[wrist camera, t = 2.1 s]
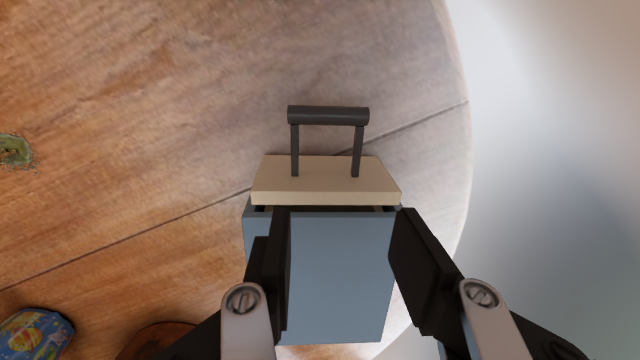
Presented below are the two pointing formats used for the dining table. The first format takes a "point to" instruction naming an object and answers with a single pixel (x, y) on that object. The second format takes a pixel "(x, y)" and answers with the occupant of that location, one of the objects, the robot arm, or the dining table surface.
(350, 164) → the drawer
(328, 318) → the cabinet
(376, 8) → the dining table surface
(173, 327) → the case
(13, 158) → the soldier figurine
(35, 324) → the snack cup
